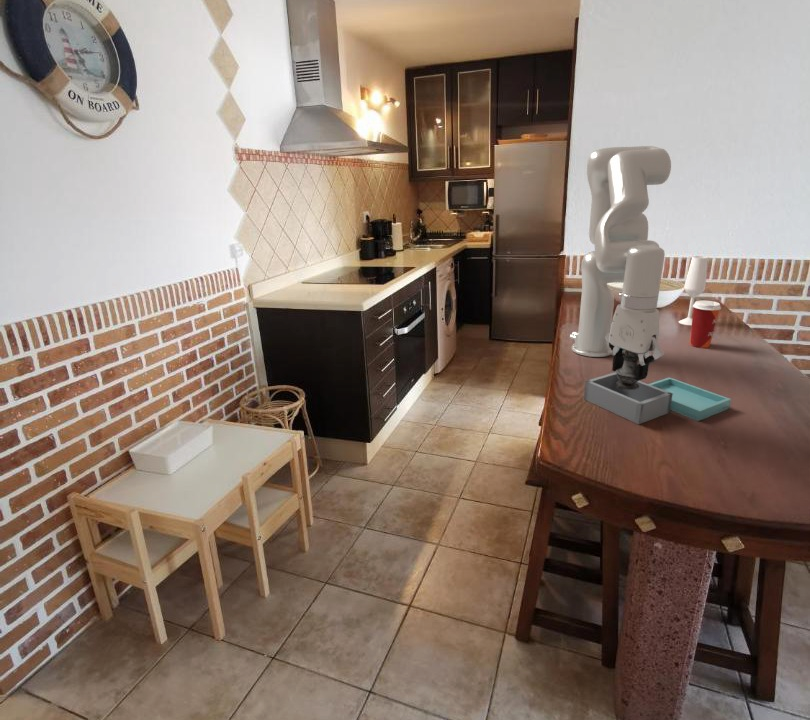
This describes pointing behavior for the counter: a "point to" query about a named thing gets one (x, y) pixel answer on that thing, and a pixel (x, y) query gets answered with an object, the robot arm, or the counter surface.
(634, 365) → the grey stone turned piece
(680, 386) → the tray
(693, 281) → the champagne flute
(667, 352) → the counter surface
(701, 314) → the paper cup
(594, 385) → the deep rectangular frame
